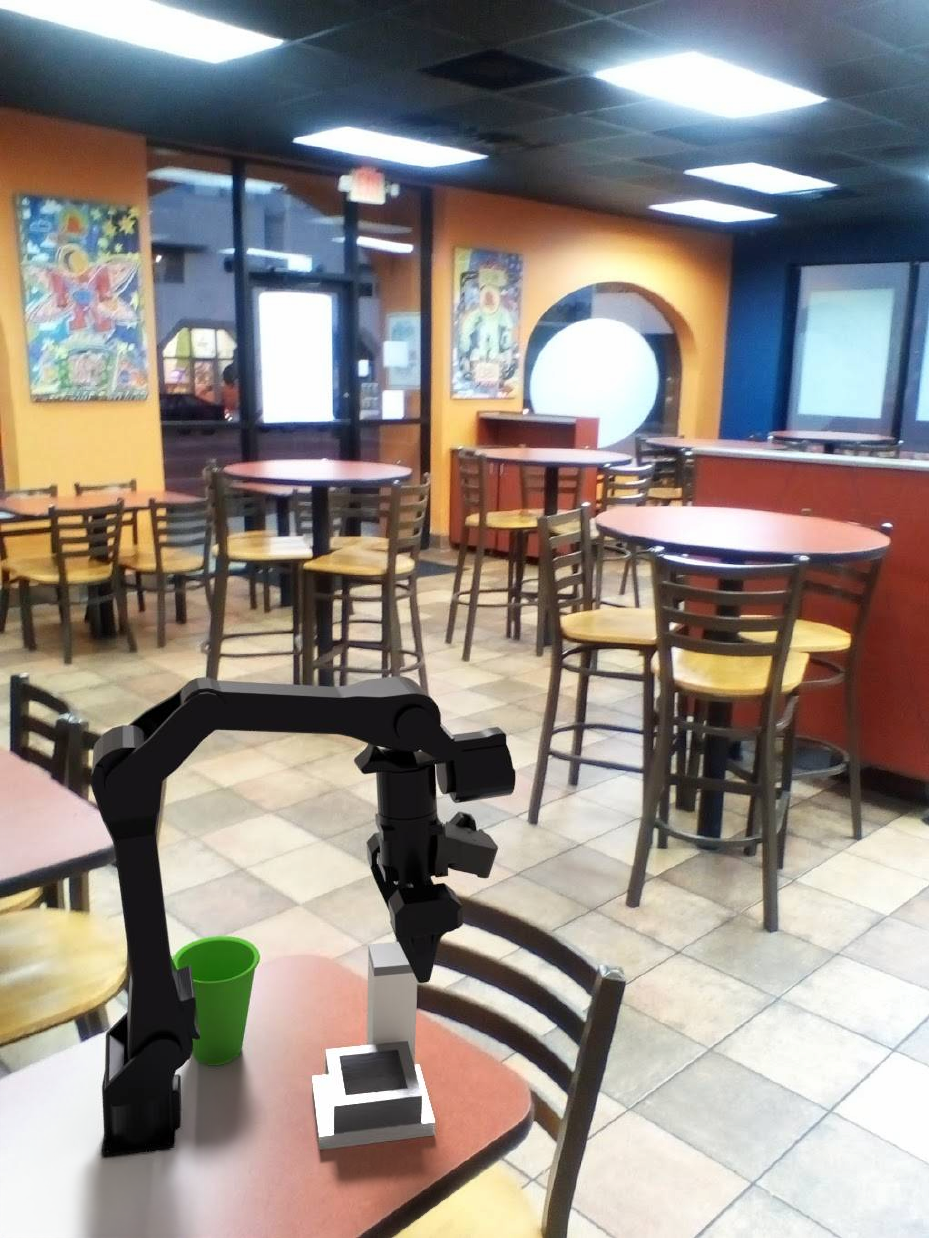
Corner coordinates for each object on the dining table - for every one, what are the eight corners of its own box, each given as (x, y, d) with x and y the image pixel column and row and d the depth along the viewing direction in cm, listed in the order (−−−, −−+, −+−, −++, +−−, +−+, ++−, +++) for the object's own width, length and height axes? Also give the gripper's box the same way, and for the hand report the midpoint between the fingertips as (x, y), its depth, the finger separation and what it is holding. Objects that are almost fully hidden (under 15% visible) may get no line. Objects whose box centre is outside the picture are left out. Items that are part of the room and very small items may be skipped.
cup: (158, 1046, 109) (155, 954, 106) (233, 1014, 115) (232, 926, 112) (199, 1090, 102) (197, 993, 100) (276, 1054, 108) (276, 961, 106)
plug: (371, 1075, 106) (374, 967, 103) (366, 1048, 110) (368, 944, 107) (414, 1070, 107) (417, 963, 104) (407, 1043, 111) (410, 940, 108)
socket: (319, 1149, 95) (320, 1108, 94) (312, 1089, 103) (312, 1050, 102) (434, 1135, 97) (436, 1094, 96) (418, 1076, 106) (419, 1038, 105)
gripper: (515, 833, 91) (519, 994, 93) (465, 770, 108) (470, 906, 111) (392, 849, 88) (400, 1013, 91) (362, 782, 106) (370, 921, 109)
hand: (414, 958), depth 100 cm, fingers open, 9 cm apart
